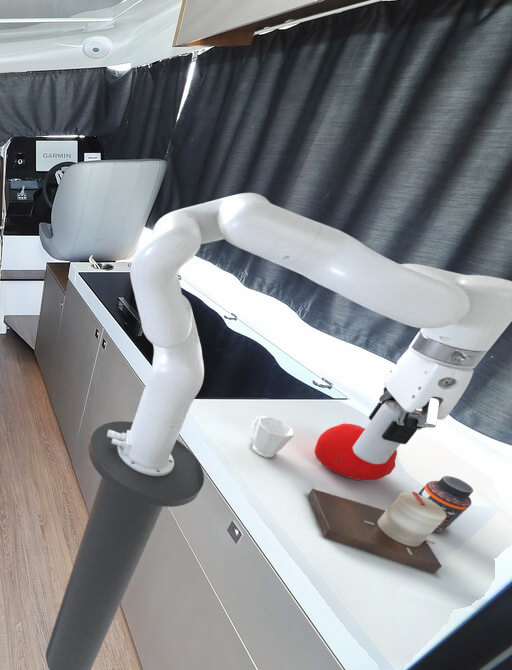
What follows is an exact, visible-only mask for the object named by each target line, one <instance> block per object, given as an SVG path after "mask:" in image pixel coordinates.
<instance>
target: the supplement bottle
mask: <svg viewBox="0 0 512 670" xmlns="http://www.w3.org/2000/svg"><path fill="white" fill-rule="evenodd" d="M473 492H474V489H473V487H472V486H471V485H470V484H468V483H467V482H465V481H464V480H461V479H460V478H457V477H454V476H450V475H443V476H442V477H441V479H439V480H431V481H429V482H427V483H426V484H425V485H424V486H423V487H422V488H421V489H420V491H418V492H417V494H418V495H421V496H423V497H426V498H428V499H429V500H431V501H433V502H434V503H436V504H437V505H439V506H440V507H441V508H442V509H443V510H444V511H445V513H446V518H445V519H444V520H443V521H442V523H441V524H440V525H439V526H438V527H437V528H436V529H435V530H434V531H433V532H435V533H442V532H445V531H447V529H448V528H450V526H452V524H453V523H455V521H456V520H458V519H459V518H460V516H462V515H463V514H464V513H465V512H466V511H467V510H468V509H469V508H470V507H471V505H472V499H471V497H470V496H471V494H473Z"/></svg>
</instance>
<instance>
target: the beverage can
mask: <svg viewBox="0 0 512 670" xmlns="http://www.w3.org/2000/svg"><path fill="white" fill-rule="evenodd" d="M401 410H402V407H401V405H400V404H399V403H398V402H397V401H386V402H385V403H384V404H382V406H381V407H380V409H379V410H378V411H377V413H376V414H375V416H374V417H373V419H372V420H369V421H370V422H369V423H368V424H367V426H366V427H365V430H364V431H363V433H362V434H361V436H360V437H359V439H358V440H357V441H356V443H355V444H354V446H353V451H354V453H355V454H356V455H357V456H358V457H359V458H361V459H363V460H364V461H367V462H369V463H372V464H383V463H386V462H387V460H388V459H389V458H390V456H391V455H392V454H393V453H394V451H395V450H397V449H398V448H399V447H400V445H401V444H400V443H396V442H392V441H388V440H384V439H383V438H382V435H383V433H384V432H385V431H386V429H387V428H388V427H389V425H390V424H391V422H392V421H397V419H398V417H399V415H400V412H401ZM415 410H417V409H415ZM417 416H418V415H415V414H411V413H410V414H409V416H408V418H417ZM408 418H407V419H408Z"/></svg>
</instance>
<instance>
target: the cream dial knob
mask: <svg viewBox="0 0 512 670" xmlns="http://www.w3.org/2000/svg"><path fill="white" fill-rule="evenodd" d="M445 518H446V513H445V511H444V510H443V509H442V508H441V507H440V506H439V505H437V504H436V503H434V502H433V501H431V500H429V499H428V498H426V497H423V496H421V495H418V492H415V491H412V492H411V491H403V492H401V493H399V494H398V495H397V496H396V498H395V499H394V500H393V502H392V503H391V504H390V505H389V506H388V507H387V509H386V511H385V513H384V514H383V515H382V516H381V517H380V519H379V520H378V526H379V527H380V529H381V530H382V531H383V532H384V533H385V534H387V535H388V536H389V537H391V538H392V539H394V540H396V541H398V542H400V543H402V544H405V545H408V546H414V547H415V546H420V545H421V544H422V543H423V541H424V540H427V539H428V538H429V536H431V534H432V533H433V532H434V530H435V529H436V528H437V527H438V526H439V525H440V524H441V523H442V521H443V520H444V519H445Z"/></svg>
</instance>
